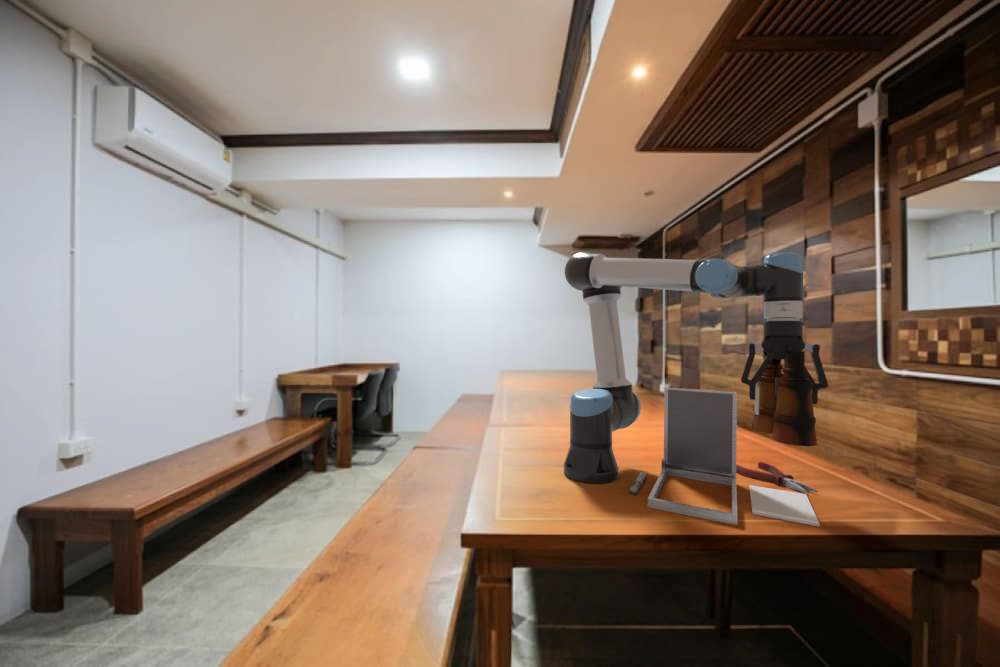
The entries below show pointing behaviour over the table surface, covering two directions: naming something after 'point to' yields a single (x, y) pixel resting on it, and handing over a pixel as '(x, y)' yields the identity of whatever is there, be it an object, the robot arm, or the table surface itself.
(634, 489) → the rod
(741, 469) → the pliers
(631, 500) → the table surface
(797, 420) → the binoculars
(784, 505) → the mat
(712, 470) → the case
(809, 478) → the table surface
